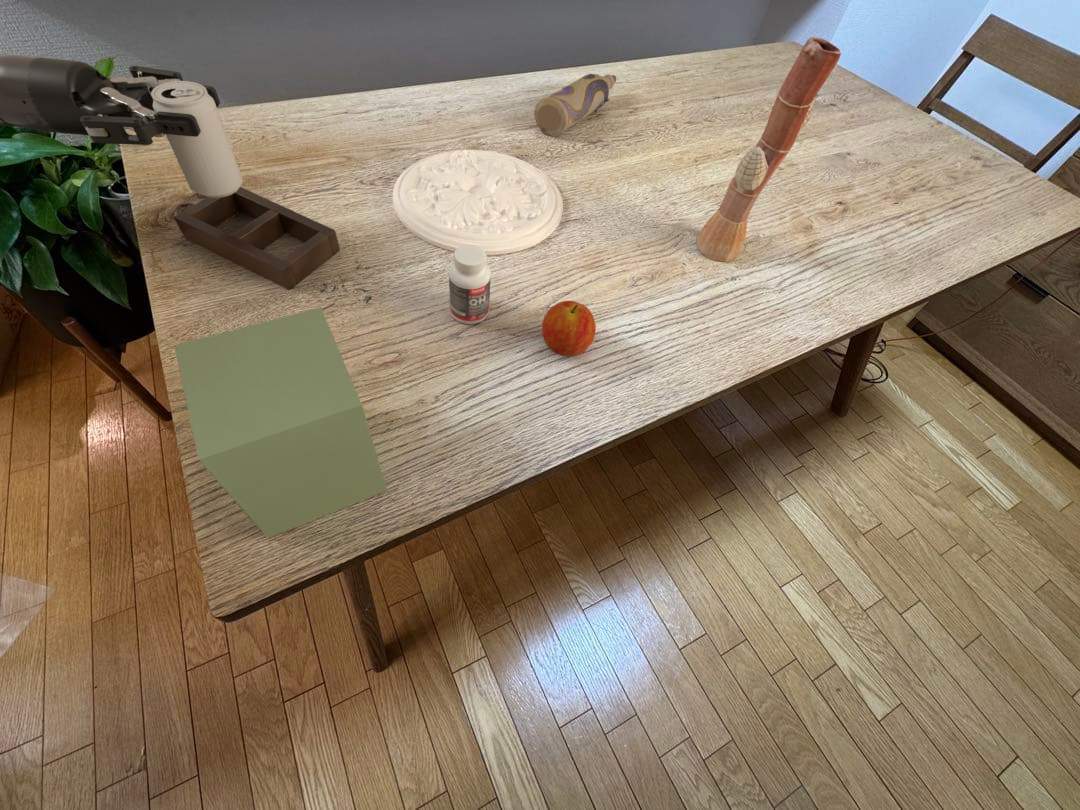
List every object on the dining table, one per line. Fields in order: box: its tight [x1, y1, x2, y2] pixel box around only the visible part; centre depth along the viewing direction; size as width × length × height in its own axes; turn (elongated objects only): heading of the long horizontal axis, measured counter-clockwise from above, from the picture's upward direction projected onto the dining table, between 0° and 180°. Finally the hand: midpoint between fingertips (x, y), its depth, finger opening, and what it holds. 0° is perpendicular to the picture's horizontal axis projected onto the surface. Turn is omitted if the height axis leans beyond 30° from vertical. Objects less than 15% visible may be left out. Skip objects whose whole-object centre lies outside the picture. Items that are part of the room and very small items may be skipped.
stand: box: [173, 306, 388, 539], centre depth 49 cm, size 12×12×16 cm
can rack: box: [173, 186, 341, 291], centre depth 73 cm, size 10×19×4 cm, turn 63°
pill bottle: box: [448, 245, 492, 325], centre depth 67 cm, size 5×5×10 cm
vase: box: [695, 36, 842, 263], centre depth 74 cm, size 11×7×30 cm
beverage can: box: [151, 80, 244, 198], centre depth 64 cm, size 6×6×12 cm
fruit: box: [541, 300, 597, 357], centre depth 66 cm, size 7×7×8 cm
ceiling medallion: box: [392, 149, 564, 256], centre depth 85 cm, size 28×28×3 cm
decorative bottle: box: [533, 73, 617, 137], centre depth 104 cm, size 26×8×7 cm, turn 145°
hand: (207, 111), depth 61 cm, fingers closed on beverage can, 6 cm apart
